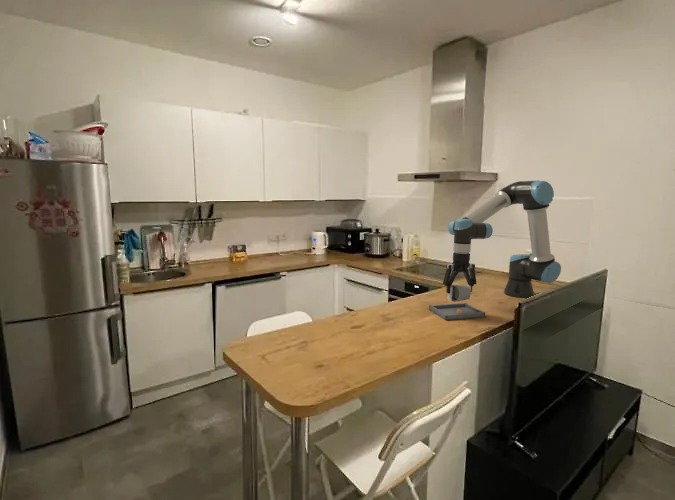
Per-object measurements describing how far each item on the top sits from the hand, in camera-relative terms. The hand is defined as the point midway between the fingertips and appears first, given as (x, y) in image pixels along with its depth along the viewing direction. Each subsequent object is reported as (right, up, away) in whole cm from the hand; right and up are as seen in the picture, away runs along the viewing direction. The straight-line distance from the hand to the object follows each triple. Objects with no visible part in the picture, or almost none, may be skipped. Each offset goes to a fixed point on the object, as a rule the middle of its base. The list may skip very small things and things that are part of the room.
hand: (458, 299), depth 176 cm
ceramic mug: (-1, 0, +1) cm, 1 cm away
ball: (0, -4, -5) cm, 6 cm away
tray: (-1, -7, +1) cm, 7 cm away
